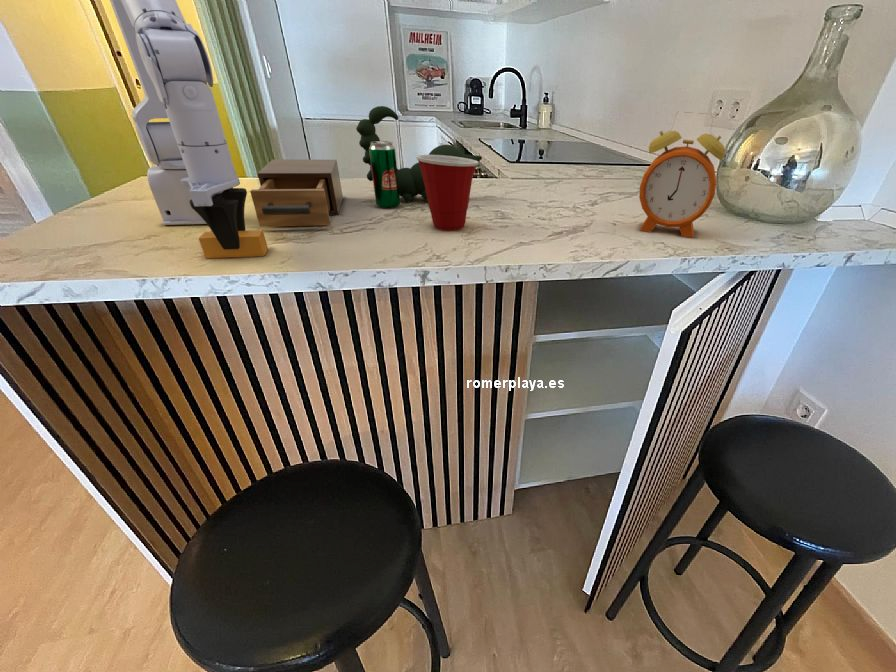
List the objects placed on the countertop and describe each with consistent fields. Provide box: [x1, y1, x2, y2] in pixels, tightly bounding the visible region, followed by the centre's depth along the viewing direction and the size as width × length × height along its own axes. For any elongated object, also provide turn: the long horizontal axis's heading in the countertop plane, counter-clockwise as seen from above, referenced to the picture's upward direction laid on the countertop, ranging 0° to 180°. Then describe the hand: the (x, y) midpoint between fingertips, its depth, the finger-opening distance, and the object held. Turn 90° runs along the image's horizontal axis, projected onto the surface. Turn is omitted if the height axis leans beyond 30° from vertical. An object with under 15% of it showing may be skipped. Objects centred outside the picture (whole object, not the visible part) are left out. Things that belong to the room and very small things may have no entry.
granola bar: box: [198, 229, 269, 259], centre depth 67 cm, size 8×3×3 cm, turn 104°
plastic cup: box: [415, 154, 480, 232], centre depth 81 cm, size 11×11×12 cm
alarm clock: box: [638, 111, 727, 239], centre depth 82 cm, size 13×6×20 cm, turn 70°
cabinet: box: [256, 158, 344, 216], centre depth 90 cm, size 15×13×8 cm
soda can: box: [369, 140, 401, 209], centre depth 91 cm, size 5×5×12 cm
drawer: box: [249, 178, 332, 228], centre depth 80 cm, size 18×11×6 cm, turn 14°
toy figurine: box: [355, 105, 483, 203], centre depth 95 cm, size 9×19×25 cm
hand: (234, 244), depth 67 cm, fingers closed on granola bar, 3 cm apart
